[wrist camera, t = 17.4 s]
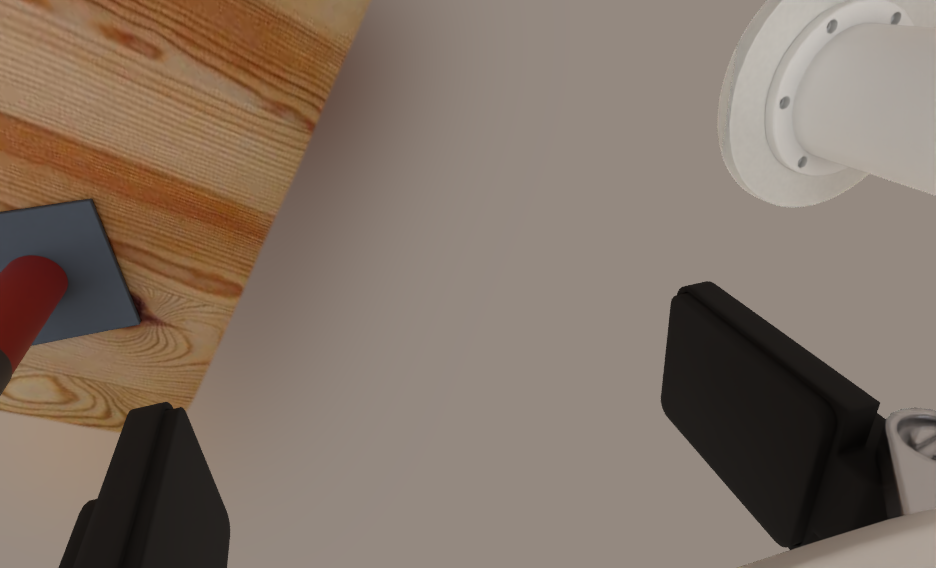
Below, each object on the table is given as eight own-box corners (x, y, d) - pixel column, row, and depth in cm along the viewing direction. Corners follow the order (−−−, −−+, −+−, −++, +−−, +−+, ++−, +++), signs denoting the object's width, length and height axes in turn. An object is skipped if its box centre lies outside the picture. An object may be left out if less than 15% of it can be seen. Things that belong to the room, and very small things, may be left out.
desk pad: (91, 198, 32) (89, 200, 32) (141, 321, 36) (139, 324, 35) (-79, 223, 30) (-83, 226, 30) (-7, 350, 34) (-10, 353, 34)
